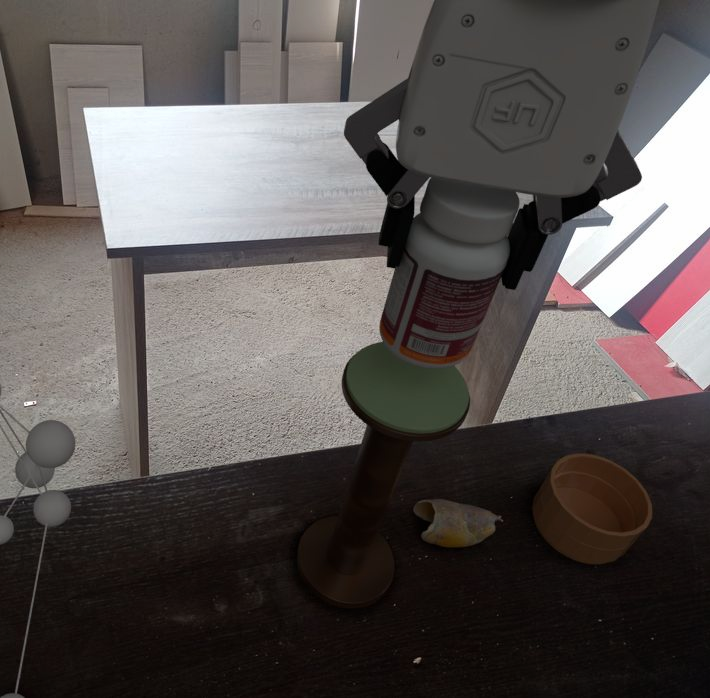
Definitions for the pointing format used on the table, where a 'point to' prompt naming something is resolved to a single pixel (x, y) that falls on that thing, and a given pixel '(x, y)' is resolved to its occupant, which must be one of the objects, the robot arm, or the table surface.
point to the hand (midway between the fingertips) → (450, 263)
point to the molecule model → (40, 484)
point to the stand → (360, 519)
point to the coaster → (405, 391)
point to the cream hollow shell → (455, 523)
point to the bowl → (591, 509)
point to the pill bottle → (448, 273)
